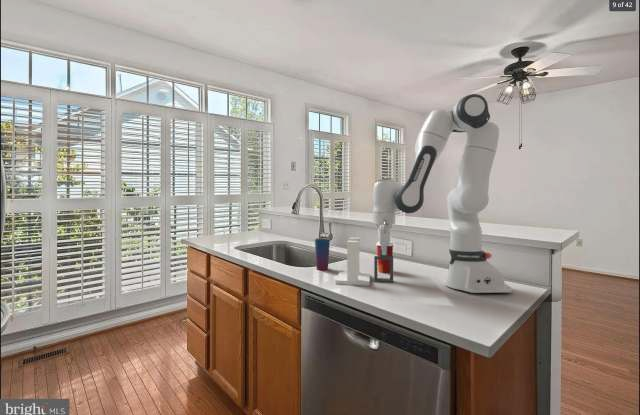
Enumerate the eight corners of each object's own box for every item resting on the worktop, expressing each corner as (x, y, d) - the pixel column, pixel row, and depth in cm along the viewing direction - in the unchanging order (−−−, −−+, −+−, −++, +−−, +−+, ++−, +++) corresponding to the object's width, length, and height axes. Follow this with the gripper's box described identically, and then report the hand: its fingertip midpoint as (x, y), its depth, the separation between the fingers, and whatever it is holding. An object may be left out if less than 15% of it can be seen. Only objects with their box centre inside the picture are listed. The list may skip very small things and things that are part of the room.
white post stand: (369, 276, 140) (370, 237, 140) (369, 285, 124) (369, 242, 124) (339, 275, 142) (339, 237, 142) (335, 284, 126) (335, 241, 126)
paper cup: (395, 272, 148) (395, 241, 148) (390, 275, 141) (390, 243, 141) (379, 270, 152) (379, 240, 152) (373, 273, 145) (373, 242, 145)
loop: (392, 280, 132) (392, 247, 132) (393, 282, 128) (393, 249, 128) (374, 279, 134) (374, 247, 133) (374, 282, 130) (374, 248, 129)
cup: (328, 273, 145) (328, 240, 145) (313, 273, 146) (313, 239, 146) (330, 270, 152) (330, 238, 152) (316, 270, 153) (316, 238, 153)
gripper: (393, 220, 120) (393, 258, 120) (390, 218, 140) (390, 250, 140) (376, 220, 121) (376, 258, 121) (375, 218, 141) (375, 250, 141)
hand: (383, 254), depth 131 cm, fingers closed on loop, 2 cm apart
